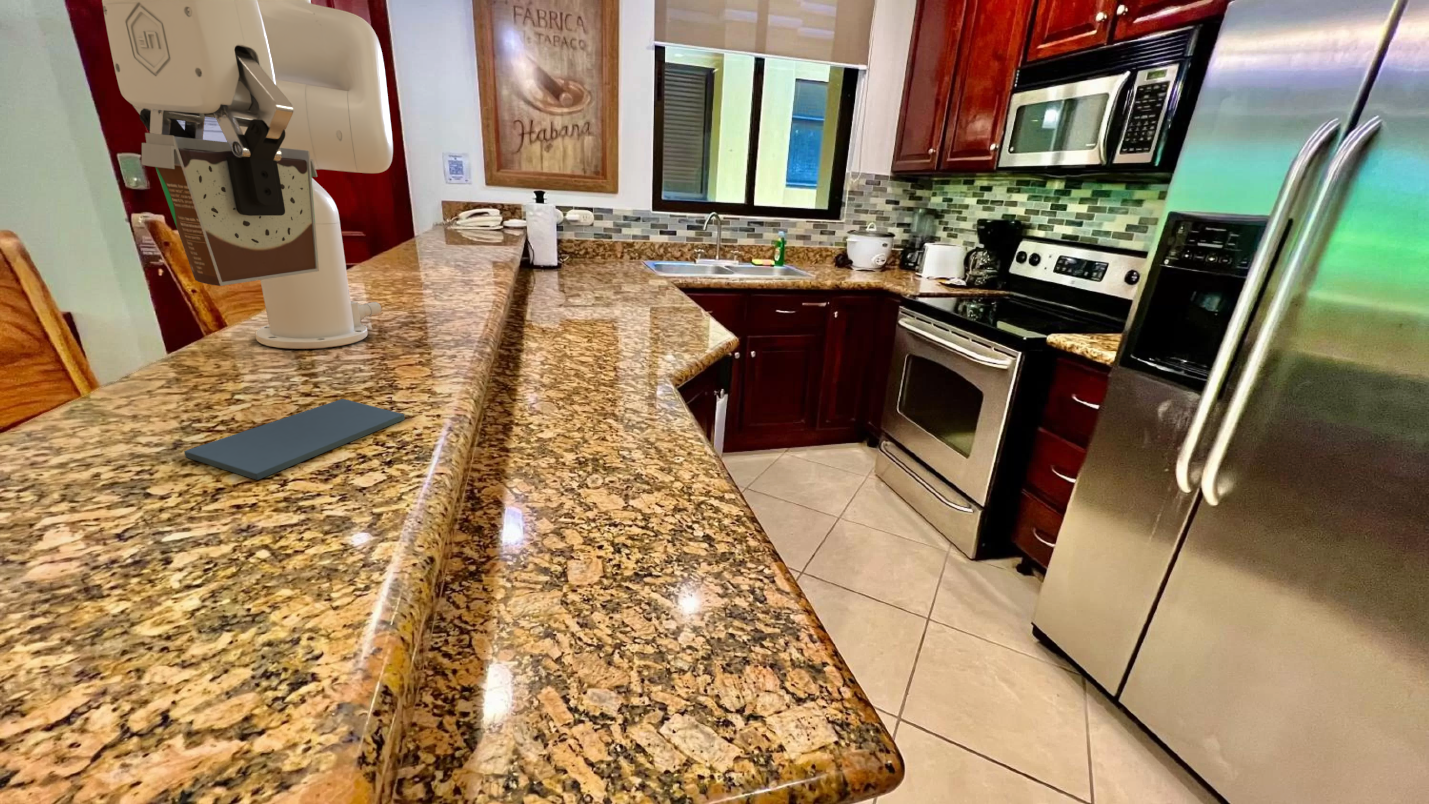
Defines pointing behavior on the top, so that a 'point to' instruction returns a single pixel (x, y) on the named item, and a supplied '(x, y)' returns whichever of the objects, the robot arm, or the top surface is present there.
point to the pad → (293, 438)
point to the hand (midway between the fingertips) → (228, 208)
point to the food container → (234, 212)
